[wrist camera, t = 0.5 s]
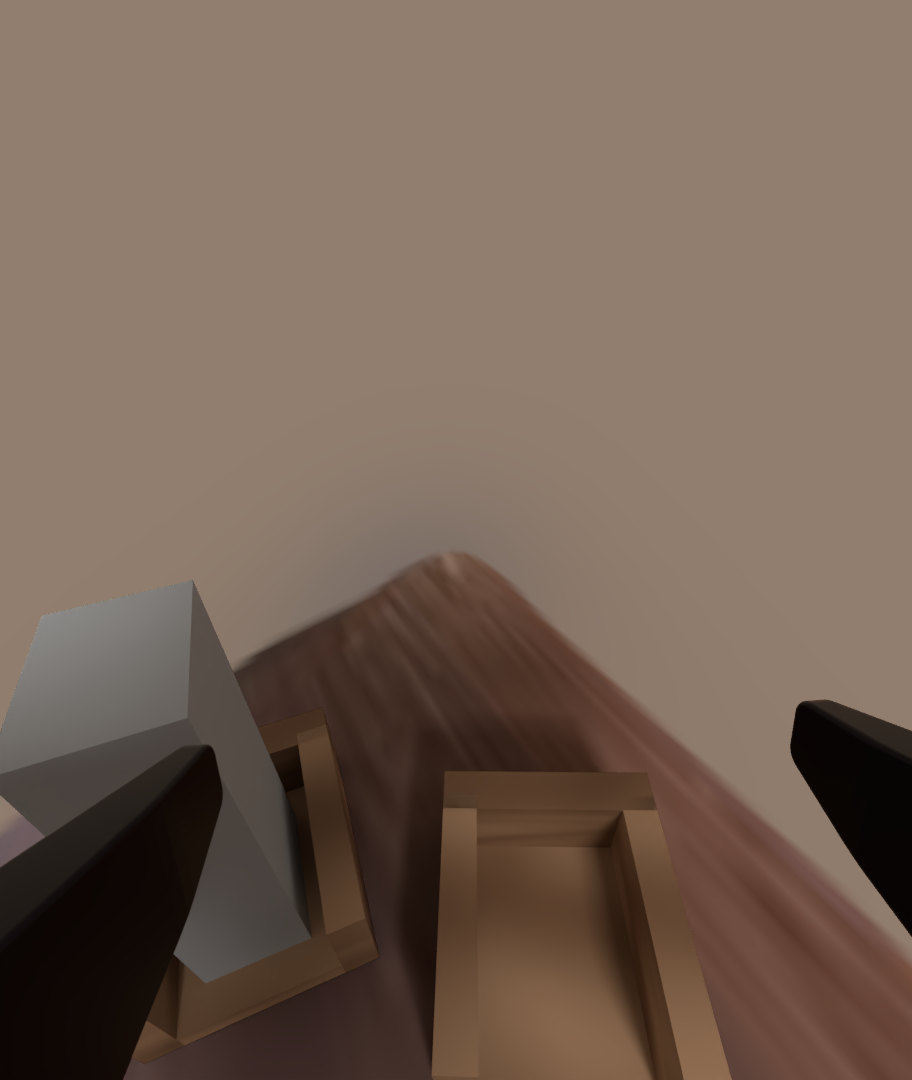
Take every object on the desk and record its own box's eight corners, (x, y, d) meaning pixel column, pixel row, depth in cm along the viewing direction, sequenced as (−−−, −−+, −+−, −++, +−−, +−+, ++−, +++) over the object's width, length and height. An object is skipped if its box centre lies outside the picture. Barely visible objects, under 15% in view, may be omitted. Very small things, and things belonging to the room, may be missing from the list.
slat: (311, 938, 18) (187, 718, 11) (205, 983, 18) (-17, 779, 10) (295, 815, 22) (192, 579, 14) (206, 848, 21) (41, 615, 13)
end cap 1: (379, 957, 19) (364, 918, 16) (143, 1063, 17) (90, 1036, 14) (337, 755, 25) (322, 707, 22) (161, 816, 23) (126, 769, 20)
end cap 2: (695, 1106, 16) (732, 1084, 13) (438, 1098, 16) (431, 1075, 14) (629, 820, 22) (646, 772, 20) (448, 818, 22) (444, 771, 20)
